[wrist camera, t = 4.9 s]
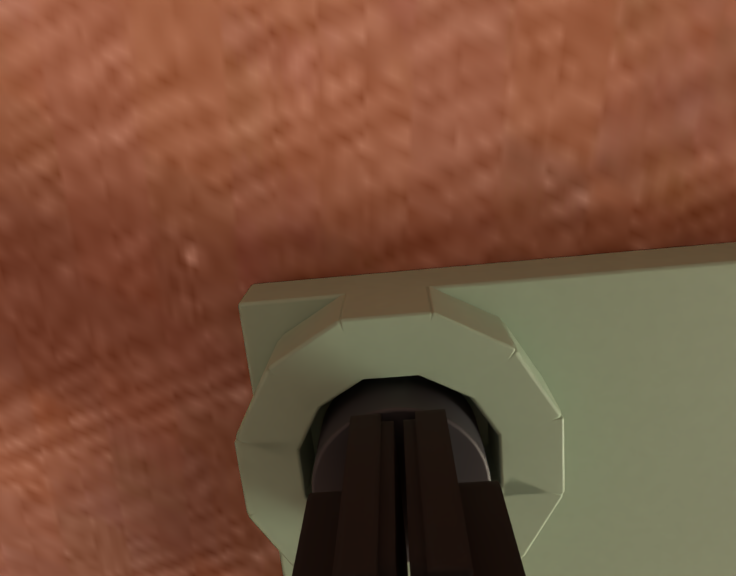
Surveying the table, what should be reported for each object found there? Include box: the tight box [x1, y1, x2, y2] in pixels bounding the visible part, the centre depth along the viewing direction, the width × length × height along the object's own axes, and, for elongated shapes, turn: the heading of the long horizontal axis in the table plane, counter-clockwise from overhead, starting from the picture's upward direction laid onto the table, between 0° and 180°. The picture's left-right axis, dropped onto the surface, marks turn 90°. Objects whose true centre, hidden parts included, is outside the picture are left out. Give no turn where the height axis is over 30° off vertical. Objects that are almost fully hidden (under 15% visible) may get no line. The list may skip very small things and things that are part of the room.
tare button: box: [312, 375, 491, 562], centre depth 12 cm, size 3×3×2 cm
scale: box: [235, 242, 736, 576], centre depth 14 cm, size 16×14×3 cm
